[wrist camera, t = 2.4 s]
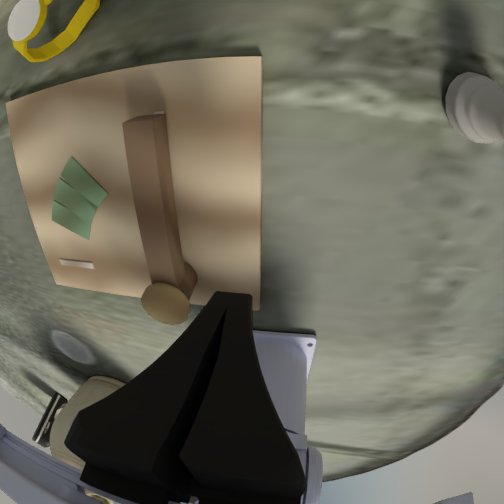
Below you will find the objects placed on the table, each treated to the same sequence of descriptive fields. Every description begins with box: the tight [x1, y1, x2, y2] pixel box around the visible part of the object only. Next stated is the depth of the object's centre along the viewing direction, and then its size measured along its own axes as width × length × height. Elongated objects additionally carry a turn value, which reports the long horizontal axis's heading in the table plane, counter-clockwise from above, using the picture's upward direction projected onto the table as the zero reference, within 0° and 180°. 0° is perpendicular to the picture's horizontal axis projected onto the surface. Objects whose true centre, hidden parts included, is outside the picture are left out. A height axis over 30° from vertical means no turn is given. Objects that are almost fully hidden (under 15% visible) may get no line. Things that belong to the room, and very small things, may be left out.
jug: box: [50, 376, 126, 504], centre depth 30 cm, size 15×16×25 cm
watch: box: [8, 0, 100, 62], centre depth 11 cm, size 6×3×6 cm, turn 135°
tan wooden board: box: [6, 56, 263, 311], centre depth 21 cm, size 18×20×1 cm
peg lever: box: [122, 114, 197, 325], centre depth 19 cm, size 14×3×4 cm, turn 0°
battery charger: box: [32, 393, 68, 447], centre depth 44 cm, size 7×4×11 cm, turn 138°
